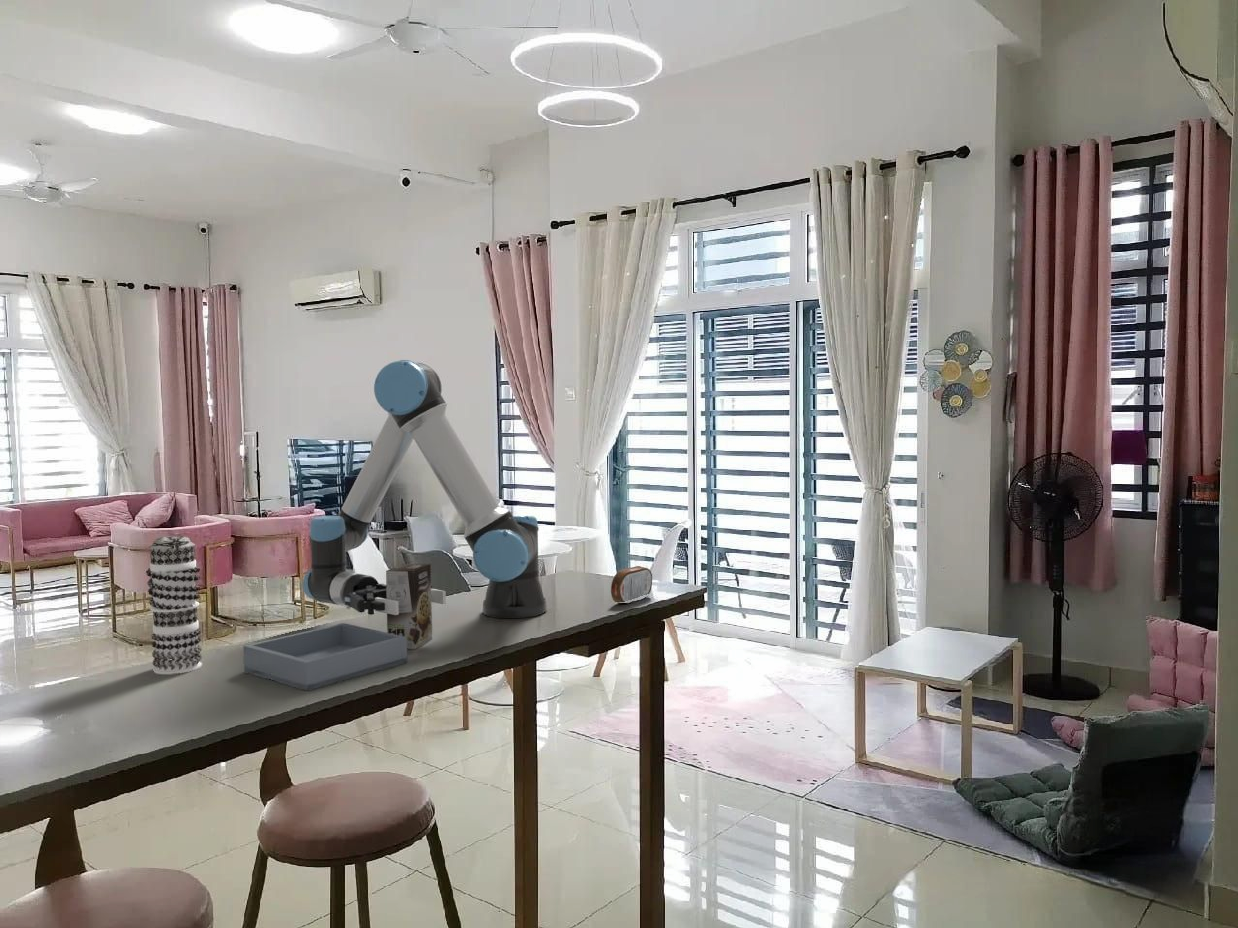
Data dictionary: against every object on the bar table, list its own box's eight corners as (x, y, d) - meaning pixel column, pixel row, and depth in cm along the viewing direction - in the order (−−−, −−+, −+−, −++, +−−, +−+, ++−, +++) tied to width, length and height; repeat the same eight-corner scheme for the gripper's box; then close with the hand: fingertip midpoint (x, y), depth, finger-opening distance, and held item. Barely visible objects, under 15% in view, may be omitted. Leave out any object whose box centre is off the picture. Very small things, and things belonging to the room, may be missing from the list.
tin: (644, 595, 241) (644, 563, 240) (654, 596, 239) (654, 564, 238) (609, 606, 229) (609, 571, 228) (620, 607, 227) (619, 573, 226)
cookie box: (416, 649, 190) (414, 570, 189) (386, 648, 191) (384, 570, 190) (433, 638, 199) (431, 563, 198) (405, 637, 200) (403, 562, 199)
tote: (343, 646, 192) (342, 622, 192) (407, 662, 180) (406, 636, 180) (244, 671, 175) (243, 645, 175) (306, 690, 163) (305, 662, 163)
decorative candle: (179, 676, 173) (174, 542, 171) (139, 673, 175) (133, 540, 174) (214, 663, 181) (209, 535, 180) (175, 660, 184) (170, 533, 182)
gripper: (400, 598, 215) (465, 610, 202) (308, 618, 196) (373, 632, 183) (399, 565, 214) (464, 575, 201) (307, 582, 196) (372, 594, 182)
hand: (421, 602), depth 192 cm, fingers open, 12 cm apart
